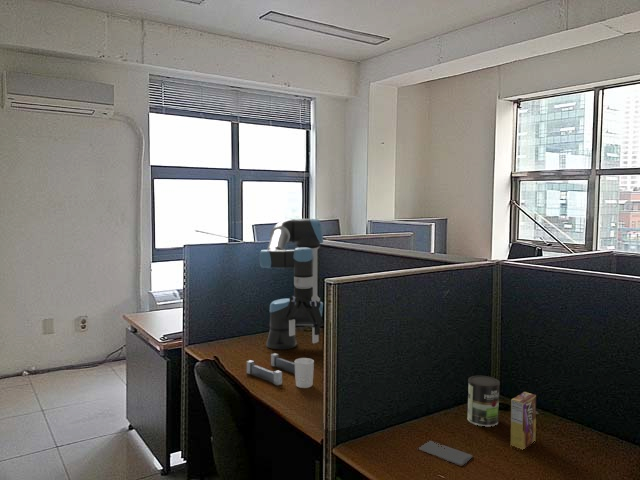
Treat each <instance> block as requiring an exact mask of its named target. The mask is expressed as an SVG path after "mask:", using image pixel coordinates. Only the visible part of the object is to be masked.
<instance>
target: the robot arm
mask: <svg viewBox="0 0 640 480" xmlns="http://www.w3.org/2000/svg"><path fill="white" fill-rule="evenodd" d="M288 243H289V244H290V243H291V244H294V243H295V244H296V247H295V248H294V249H286V247H287V244H288ZM323 243H324V237H323V228H322V223H321V220H319V219H317V218H287V219H284V220H281V221H280V222H277V223H276V224H275V225H273V227H272V228H271V230H270V232H269V242H268V245H267V249H261V250H260V251H259V266H260V267H261V268H263V269H265V268H266V269H293V285H294V288H293V295H292V296H289V298H280V299H279V298H278V299H275V300H272V301H271V302H270V304H269V333H268V336H267V339H266V347H267V348H268V349H271V350H272V349H273V350H291V349H293V348H295V347H297V339H296V326H312V328H311V330H312V331H311V333H312V335H311V337H312V339H311V340H312V341H311V343H312V344H317V343H319V336H320V327H322V326H324V320H323V318H322V317H323V309H324V308H323V307H324V302H322V301H321V297H319V296H318V249H320V247H321V244H323Z"/></svg>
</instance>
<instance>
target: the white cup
mask: <svg viewBox="0 0 640 480" xmlns="http://www.w3.org/2000/svg"><path fill="white" fill-rule="evenodd" d="M293 363H294V365H295V374H294V378H295V386H296V387H298V388H300V389H308V388H312V386H313V385H314V383H313V381H314V370H315V369H314V367H315V360H314V359H312V358H308V357H299V358H296V359H295V360H294V362H293Z"/></svg>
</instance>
